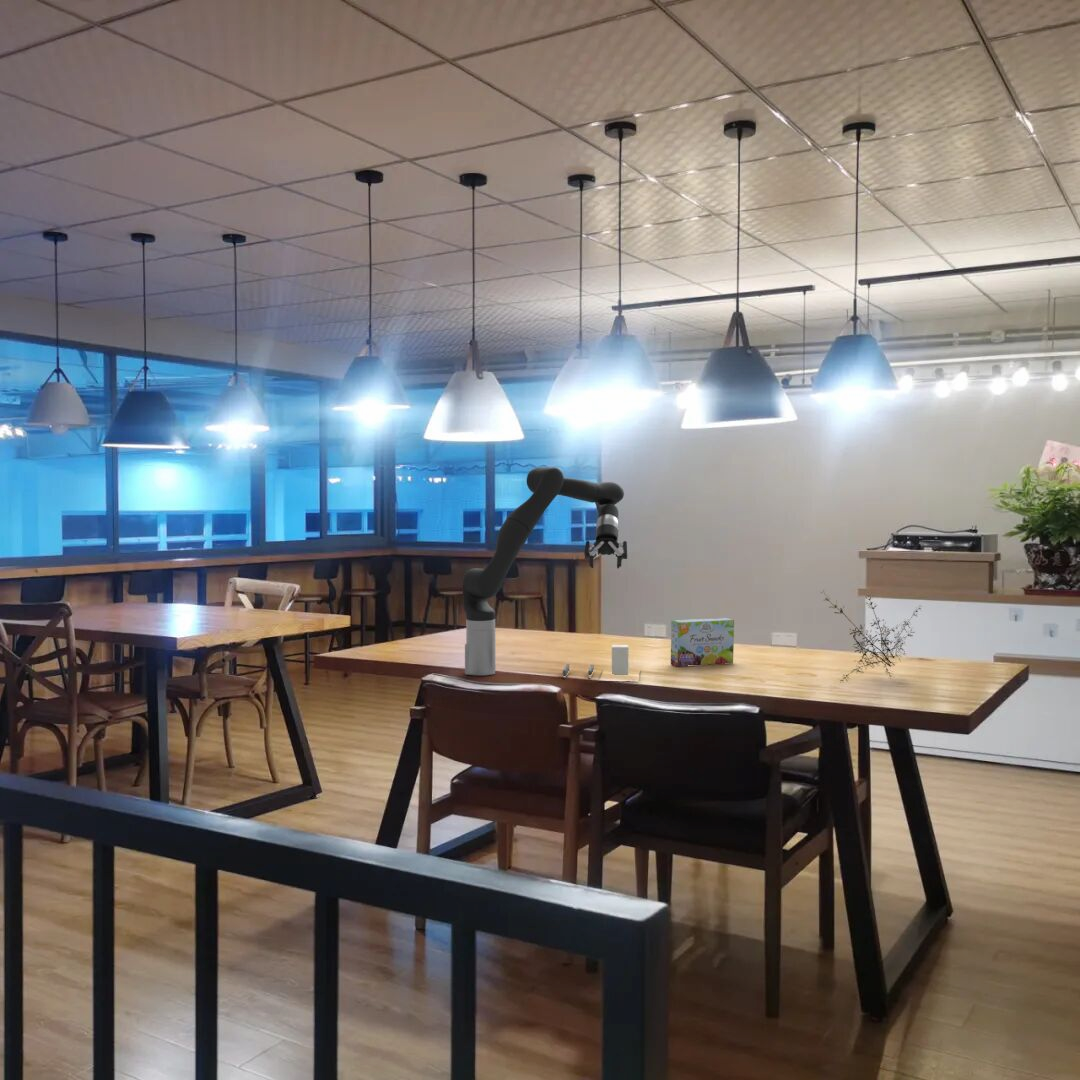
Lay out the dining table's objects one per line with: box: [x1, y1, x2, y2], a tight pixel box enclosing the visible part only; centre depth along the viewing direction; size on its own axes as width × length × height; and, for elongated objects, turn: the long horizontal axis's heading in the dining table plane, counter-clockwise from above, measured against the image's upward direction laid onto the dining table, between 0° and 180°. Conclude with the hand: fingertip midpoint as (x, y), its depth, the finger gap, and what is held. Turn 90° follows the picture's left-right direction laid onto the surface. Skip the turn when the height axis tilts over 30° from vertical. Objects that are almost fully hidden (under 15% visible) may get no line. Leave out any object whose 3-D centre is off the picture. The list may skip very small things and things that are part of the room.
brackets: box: [562, 663, 595, 677], centre depth 331 cm, size 9×12×2 cm
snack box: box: [670, 617, 735, 667], centre depth 351 cm, size 21×6×15 cm, turn 112°
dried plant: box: [820, 589, 922, 682], centre depth 310 cm, size 30×31×45 cm
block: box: [611, 644, 630, 675], centre depth 329 cm, size 5×5×9 cm
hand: (605, 566), depth 349 cm, fingers open, 8 cm apart
